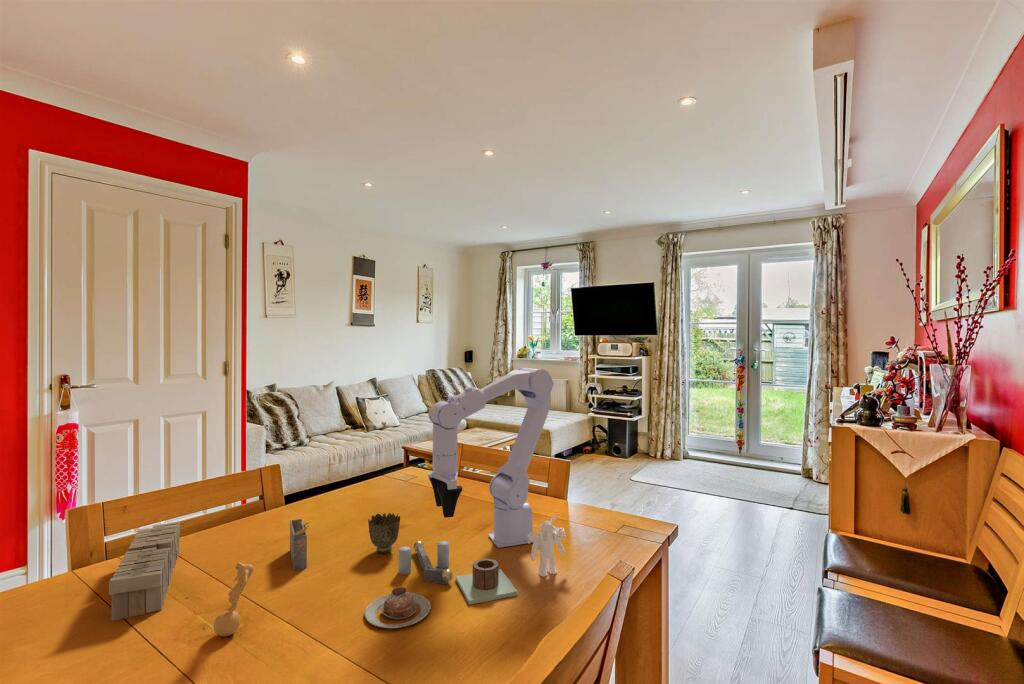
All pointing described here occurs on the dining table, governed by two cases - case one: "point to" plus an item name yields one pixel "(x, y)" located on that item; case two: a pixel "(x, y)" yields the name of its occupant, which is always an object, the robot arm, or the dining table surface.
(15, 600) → the dining table surface
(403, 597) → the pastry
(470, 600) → the pad
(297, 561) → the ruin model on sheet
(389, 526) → the cup
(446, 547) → the post inner
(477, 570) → the napkin ring
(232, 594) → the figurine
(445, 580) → the rail
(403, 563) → the grey rounded cylinder
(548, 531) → the hat wearing toy figure
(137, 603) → the block tower
